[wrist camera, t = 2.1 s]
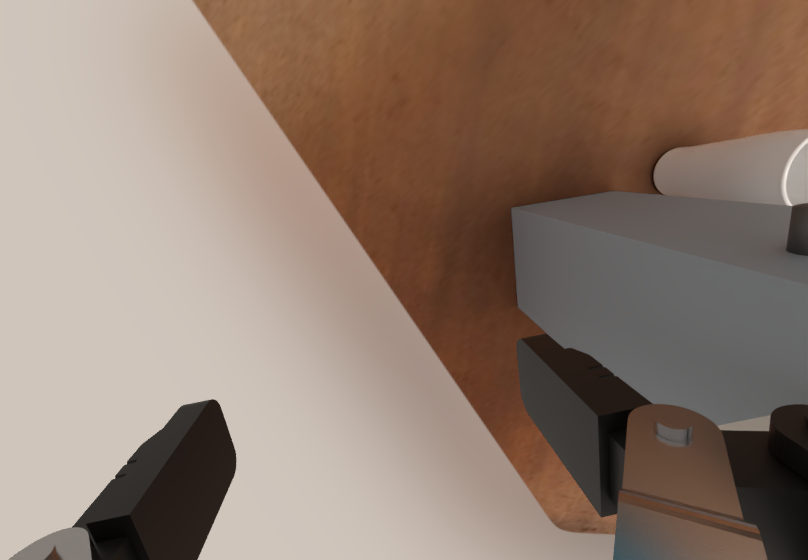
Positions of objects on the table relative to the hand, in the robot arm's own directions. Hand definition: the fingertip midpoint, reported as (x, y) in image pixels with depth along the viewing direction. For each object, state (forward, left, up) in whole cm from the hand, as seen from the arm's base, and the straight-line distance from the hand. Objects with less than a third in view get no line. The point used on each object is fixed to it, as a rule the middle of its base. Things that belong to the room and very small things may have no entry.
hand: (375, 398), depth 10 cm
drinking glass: (0, +35, -33) cm, 48 cm away
